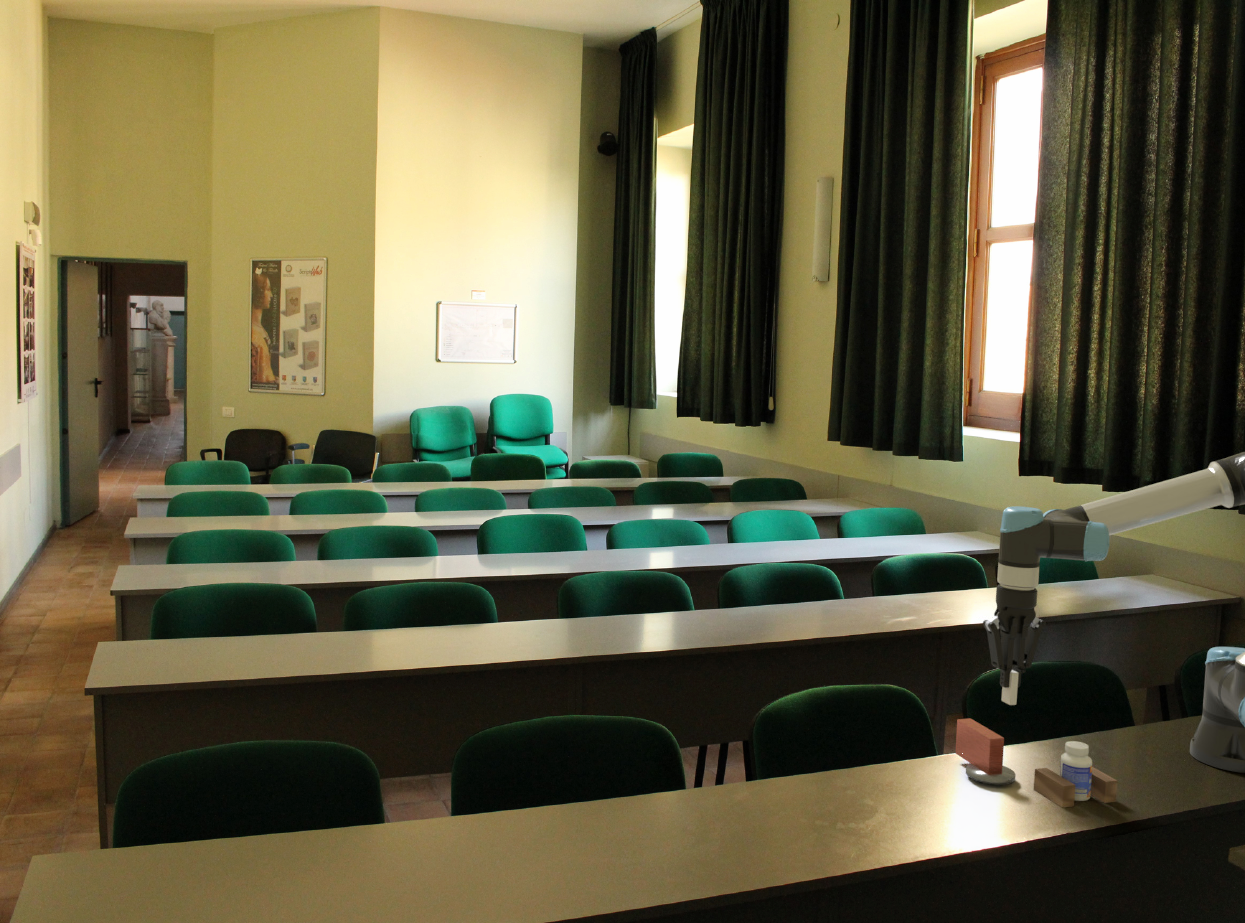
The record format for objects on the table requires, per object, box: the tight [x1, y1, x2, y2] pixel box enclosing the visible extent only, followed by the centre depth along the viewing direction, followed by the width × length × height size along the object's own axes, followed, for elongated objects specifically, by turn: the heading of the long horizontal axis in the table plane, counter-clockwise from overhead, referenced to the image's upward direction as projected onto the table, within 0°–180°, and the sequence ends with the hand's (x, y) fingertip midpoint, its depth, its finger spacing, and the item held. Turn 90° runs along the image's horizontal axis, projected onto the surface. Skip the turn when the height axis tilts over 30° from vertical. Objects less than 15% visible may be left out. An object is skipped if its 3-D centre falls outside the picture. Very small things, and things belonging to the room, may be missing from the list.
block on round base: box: [955, 718, 1016, 786], centre depth 199 cm, size 9×14×8 cm, turn 15°
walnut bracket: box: [1033, 766, 1118, 808], centre depth 190 cm, size 12×8×4 cm
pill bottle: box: [1059, 740, 1093, 802], centre depth 190 cm, size 5×5×10 cm
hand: (1008, 702), depth 204 cm, fingers closed
